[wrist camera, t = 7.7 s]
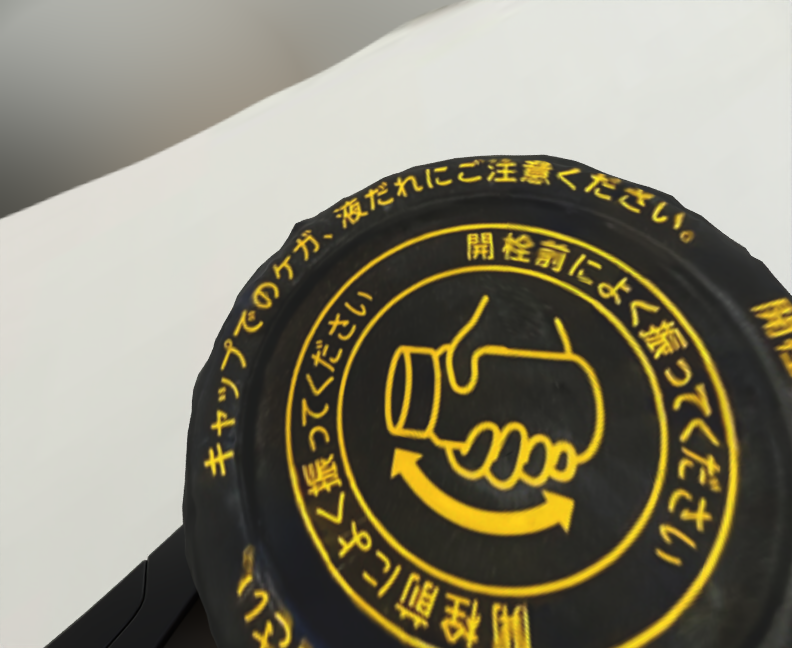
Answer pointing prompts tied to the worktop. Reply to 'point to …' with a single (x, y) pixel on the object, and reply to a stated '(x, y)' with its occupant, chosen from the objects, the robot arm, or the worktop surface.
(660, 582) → the condiment
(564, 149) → the worktop surface
